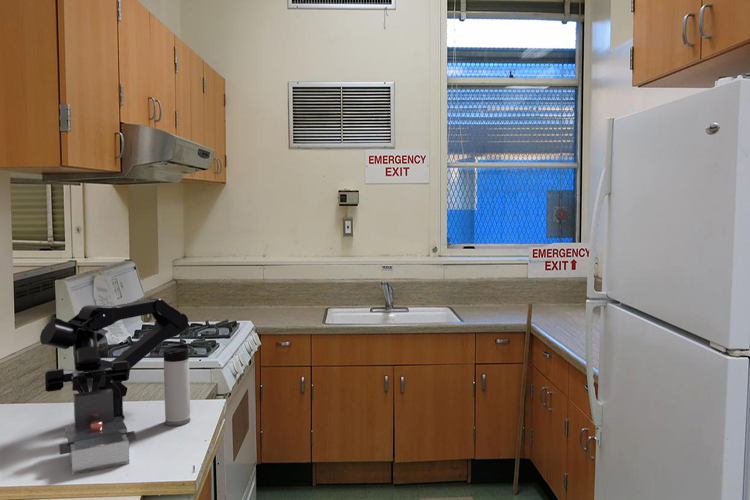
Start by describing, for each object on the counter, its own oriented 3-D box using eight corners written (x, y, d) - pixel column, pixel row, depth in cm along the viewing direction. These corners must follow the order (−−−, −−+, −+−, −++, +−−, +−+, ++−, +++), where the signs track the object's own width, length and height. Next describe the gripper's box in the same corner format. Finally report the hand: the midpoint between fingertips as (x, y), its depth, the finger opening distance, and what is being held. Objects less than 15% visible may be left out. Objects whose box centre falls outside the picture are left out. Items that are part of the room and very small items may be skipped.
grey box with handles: (59, 460, 128) (58, 438, 128) (132, 446, 136) (131, 425, 136) (61, 477, 120) (60, 453, 120) (139, 461, 128) (138, 439, 127)
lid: (65, 428, 133) (64, 395, 133) (120, 419, 139) (119, 387, 139) (68, 442, 125) (66, 406, 124) (127, 432, 131) (126, 397, 130)
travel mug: (196, 418, 155) (194, 344, 154) (180, 427, 149) (178, 349, 148) (176, 416, 157) (174, 343, 156) (160, 424, 151) (158, 348, 150)
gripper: (43, 337, 138) (46, 394, 130) (127, 329, 148) (136, 382, 139) (44, 363, 146) (47, 419, 137) (124, 353, 155) (132, 405, 146)
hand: (91, 405), depth 140 cm, fingers closed
